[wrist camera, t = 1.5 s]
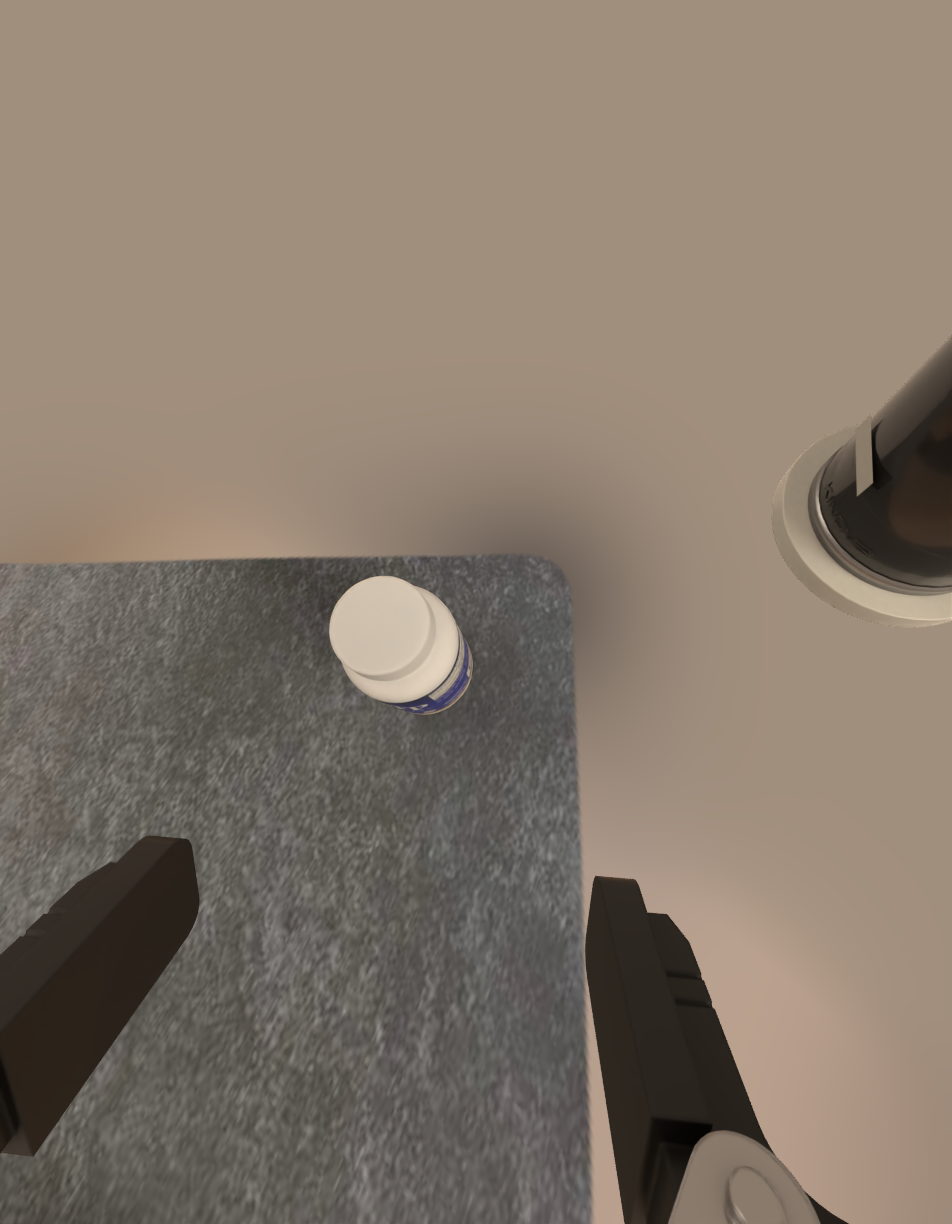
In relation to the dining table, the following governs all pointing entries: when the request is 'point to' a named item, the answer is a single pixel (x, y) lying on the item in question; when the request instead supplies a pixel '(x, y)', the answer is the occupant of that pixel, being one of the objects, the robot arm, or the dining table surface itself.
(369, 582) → the pill bottle
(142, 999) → the robot arm
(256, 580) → the dining table surface
